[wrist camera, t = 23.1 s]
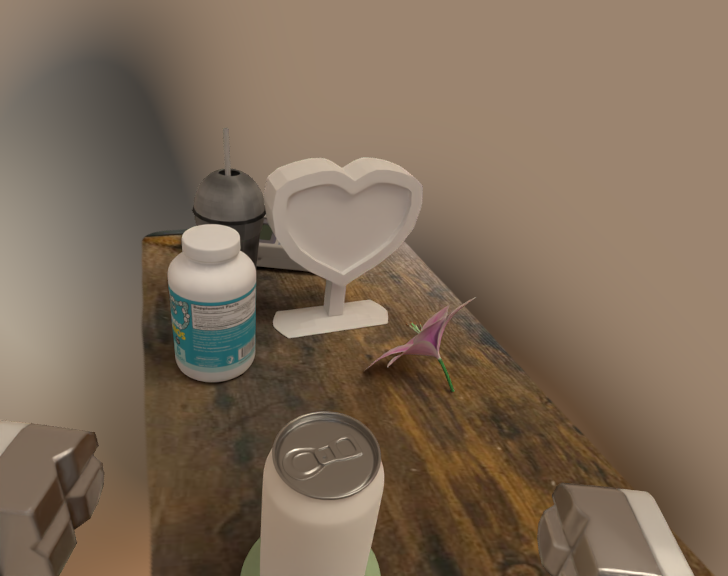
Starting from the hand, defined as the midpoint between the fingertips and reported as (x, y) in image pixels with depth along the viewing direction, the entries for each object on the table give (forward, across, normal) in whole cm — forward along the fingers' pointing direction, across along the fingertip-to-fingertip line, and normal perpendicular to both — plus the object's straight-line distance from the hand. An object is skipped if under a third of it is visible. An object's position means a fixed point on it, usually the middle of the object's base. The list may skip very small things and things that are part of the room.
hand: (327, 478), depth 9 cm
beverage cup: (+42, +13, +26) cm, 51 cm away
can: (+12, 0, +26) cm, 28 cm away
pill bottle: (+32, +12, +26) cm, 43 cm away
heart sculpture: (+42, +1, +26) cm, 49 cm away
